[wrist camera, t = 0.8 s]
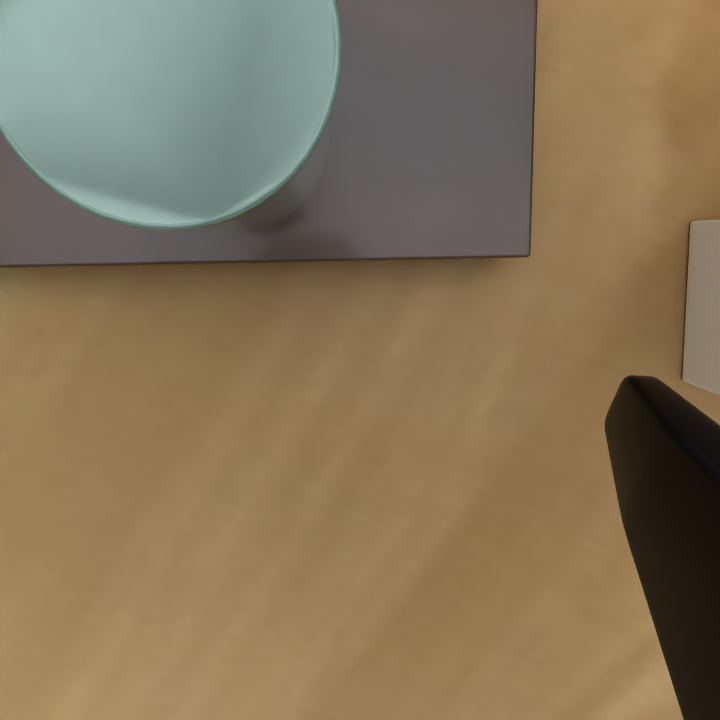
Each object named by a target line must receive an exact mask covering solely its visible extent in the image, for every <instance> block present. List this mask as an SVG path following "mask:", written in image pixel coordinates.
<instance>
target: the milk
mask: <svg viewBox="0 0 720 720" xmlns="http://www.w3.org/2000/svg"><path fill="white" fill-rule="evenodd" d="M682 378H683V381H684V382H686V383H689V384H691V385H694V386H696V387H699V388H701V389H704V390H706V391H709V392H711V393H714V394H717V395H719V396H720V220H700V221H693V222H691V224H690V240H689V260H688V279H687V299H686V318H685V338H684V357H683V377H682Z"/></svg>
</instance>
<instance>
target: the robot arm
mask: <svg viewBox="0 0 720 720" xmlns="http://www.w3.org/2000/svg"><path fill="white" fill-rule="evenodd" d="M605 433H606V439H607V444H608V449H609V455H610V460H611V465H612V470H613V476H614V481H615V486H616V492H617V497H618V502H619V508H620V512H621V517H622V521H623V525H624V529H625V532H626V536H627V539H628V543H629V546H630V549H631V552H632V555H633V559H634V562H635V565H636V568H637V571H638V575H639V578H640V581H641V584H642V587H643V591H644V594H645V597H646V600H647V603H648V607H649V610H650V613H651V616H652V619H653V623H654V626H655V629H656V632H657V635H658V639H659V642H660V645H661V648H662V651H663V655H664V658H665V661H666V664H667V667H668V671H669V674H670V677H671V680H672V683H673V687H674V690H675V693H676V696H677V699H678V703H679V706H680V709H681V712H682V715H683V719H684V720H720V425H718V424H717V423H716V422H714V421H713V420H712V419H710V418H709V417H708V416H706V415H705V414H704V413H703V412H701V411H700V410H699V409H697V408H696V407H695V406H693V405H692V404H691V403H689V402H688V401H687V400H685V399H684V398H683V397H682V396H680V395H679V394H678V393H676V392H675V391H674V390H672V389H671V388H670V387H668V386H667V385H666V384H664V383H663V382H662V381H661V380H659V379H658V378H655V377H651V376H634V375H631V376H627V377H626V378H624V379H623V381H622V382H621V384H620V386H619V388H618V391H617V393H616V395H615V397H614V400H613V402H612V404H611V406H610V408H609V411H608V413H607V416H606V420H605Z"/></svg>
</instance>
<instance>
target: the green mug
mask: <svg viewBox="0 0 720 720" xmlns="http://www.w3.org/2000/svg"><path fill="white" fill-rule="evenodd" d="M341 56H342V37H341V25H340V16H339V11H338V6H337V1H336V0H0V132H1V134H2V135H3V137H4V139H5V140H6V142H7V143H8V144H9V146H10V147H11V148H12V149H13V151H14V152H15V153H16V155H17V156H18V157H19V159H20V160H21V161H22V162H23V163H24V164H25V165H26V166H27V167H28V168H29V169H30V170H31V171H32V172H33V173H34V174H35V175H36V176H37V177H38V178H39V179H40V180H41V181H42V182H43V183H45V184H46V185H47V186H48V187H50V188H51V189H52V190H53V191H55V192H56V193H57V194H58V195H60V196H61V197H63V198H65V199H66V200H68V201H70V202H71V203H73V204H74V205H76V206H78V207H79V208H81V209H83V210H86V211H88V212H90V213H92V214H94V215H96V216H99V217H101V218H104V219H107V220H110V221H113V222H116V223H119V224H123V225H127V226H132V227H138V228H143V229H151V230H171V231H182V230H204V231H217V232H235V233H237V232H249V231H254V230H258V229H262V228H265V227H268V226H270V225H273V224H275V223H277V222H279V221H281V220H283V219H285V218H286V217H287V216H289V215H290V214H292V213H293V212H294V211H296V210H297V209H298V208H299V207H300V206H301V205H302V204H303V203H304V202H305V201H306V200H307V198H308V197H309V196H310V195H311V193H312V192H313V190H314V189H315V187H316V186H317V184H318V182H319V180H320V178H321V176H322V174H323V171H324V169H325V166H326V162H327V159H328V155H329V149H330V142H331V132H332V122H333V112H334V105H335V102H336V98H337V92H338V86H339V80H340V73H341Z"/></svg>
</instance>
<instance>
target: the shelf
mask: <svg viewBox="0 0 720 720" xmlns="http://www.w3.org/2000/svg"><path fill="white" fill-rule="evenodd" d="M336 1H337V6H338V11H339V16H340V25H341V37H342V56H341V73H340V80H339V86H338V92H337V98H336V102H335V105H334V112H333V122H332V132H331V142H330V149H329V155H328V159H327V162H326V166H325V169H324V171H323V174H322V176H321V178H320V180H319V182H318V184H317V186H316V187H315V189H314V190H313V192H312V193H311V195H310V196H309V197H308V198H307V200H306V201H305V202H304V203H303V204H302V205H301V206H300V207H299V208H298V209H297V210H296V211H294V212H293V213H292V214H290V215H289V216H287V217H286V218H285V219H283V220H281V221H279V222H277V223H275V224H273V225H270V226H268V227H265V228H262V229H258V230H254V231H249V232H237V233H235V232H217V231H204V230H182V231H171V230H151V229H143V228H138V227H132V226H127V225H123V224H119V223H116V222H113V221H110V220H107V219H104V218H101V217H99V216H96V215H94V214H92V213H90V212H88V211H86V210H83V209H81V208H79V207H78V206H76V205H74V204H73V203H71V202H70V201H68V200H66V199H65V198H63V197H61V196H60V195H58V194H57V193H56V192H55V191H53V190H52V189H51V188H50V187H48V186H47V185H46V184H45V183H43V182H42V181H41V180H40V179H39V178H38V177H37V176H36V175H35V174H34V173H33V172H32V171H31V170H30V169H29V168H28V167H27V166H26V165H25V164H24V163H23V162H22V161H21V160H20V159H19V157H18V156H17V155H16V153H15V152H14V151H13V149H12V148H11V147H10V146H9V144H8V143H7V142H6V140H5V139H4V137H3V135H2V134H1V132H0V268H3V267H55V266H106V265H158V264H209V263H260V262H312V261H363V260H415V259H466V258H517V257H529V256H530V249H531V213H532V177H533V141H534V105H535V69H536V33H537V0H336Z"/></svg>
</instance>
